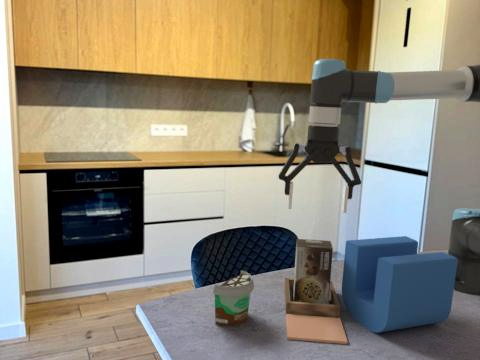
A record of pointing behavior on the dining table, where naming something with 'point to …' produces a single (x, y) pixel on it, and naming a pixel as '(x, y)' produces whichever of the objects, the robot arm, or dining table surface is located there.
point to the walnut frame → (311, 308)
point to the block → (396, 283)
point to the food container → (233, 300)
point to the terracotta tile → (315, 329)
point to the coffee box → (312, 271)
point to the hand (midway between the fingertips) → (316, 209)
